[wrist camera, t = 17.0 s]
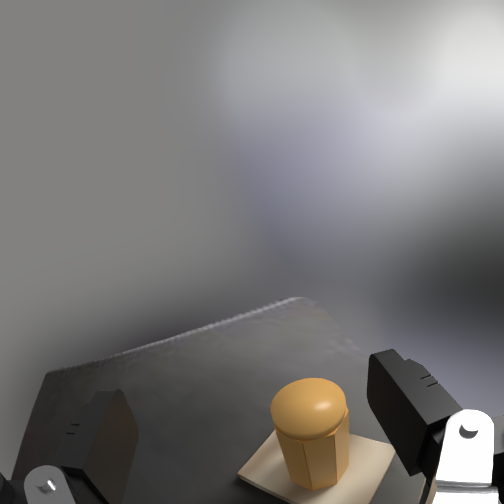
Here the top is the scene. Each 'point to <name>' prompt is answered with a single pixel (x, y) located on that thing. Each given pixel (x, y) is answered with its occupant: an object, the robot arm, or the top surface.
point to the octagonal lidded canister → (312, 431)
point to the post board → (329, 498)
